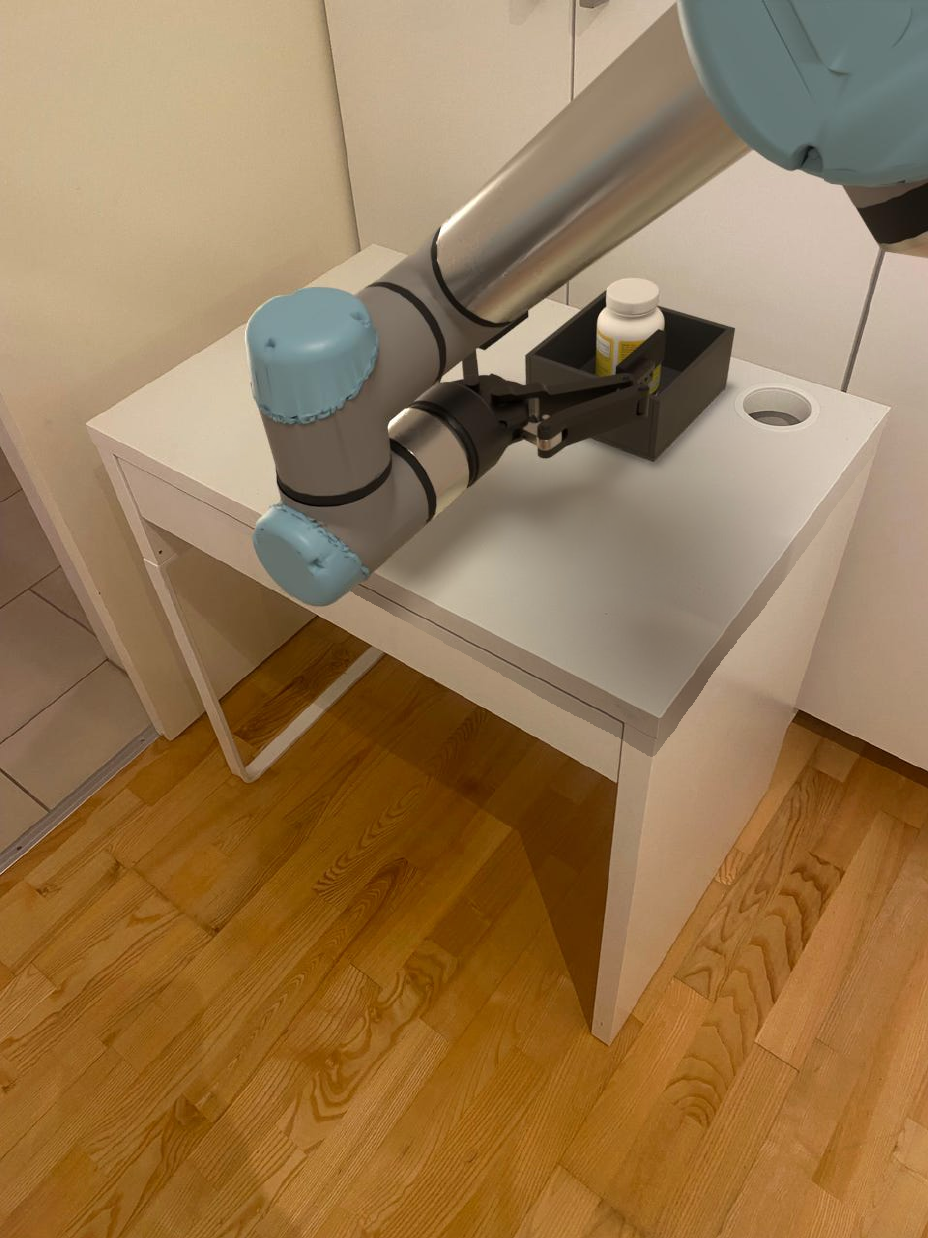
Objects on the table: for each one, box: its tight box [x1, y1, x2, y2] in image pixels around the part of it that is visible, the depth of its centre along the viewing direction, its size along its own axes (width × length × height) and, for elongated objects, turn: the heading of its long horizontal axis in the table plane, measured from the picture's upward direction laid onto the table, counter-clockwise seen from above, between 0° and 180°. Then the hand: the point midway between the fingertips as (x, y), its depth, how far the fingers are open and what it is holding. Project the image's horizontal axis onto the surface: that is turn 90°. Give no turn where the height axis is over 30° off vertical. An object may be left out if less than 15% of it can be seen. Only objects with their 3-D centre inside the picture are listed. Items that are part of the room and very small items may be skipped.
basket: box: [524, 289, 736, 462], centre depth 92 cm, size 14×14×6 cm
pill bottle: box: [595, 277, 664, 396], centre depth 90 cm, size 6×6×11 cm
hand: (590, 322), depth 81 cm, fingers open, 13 cm apart
